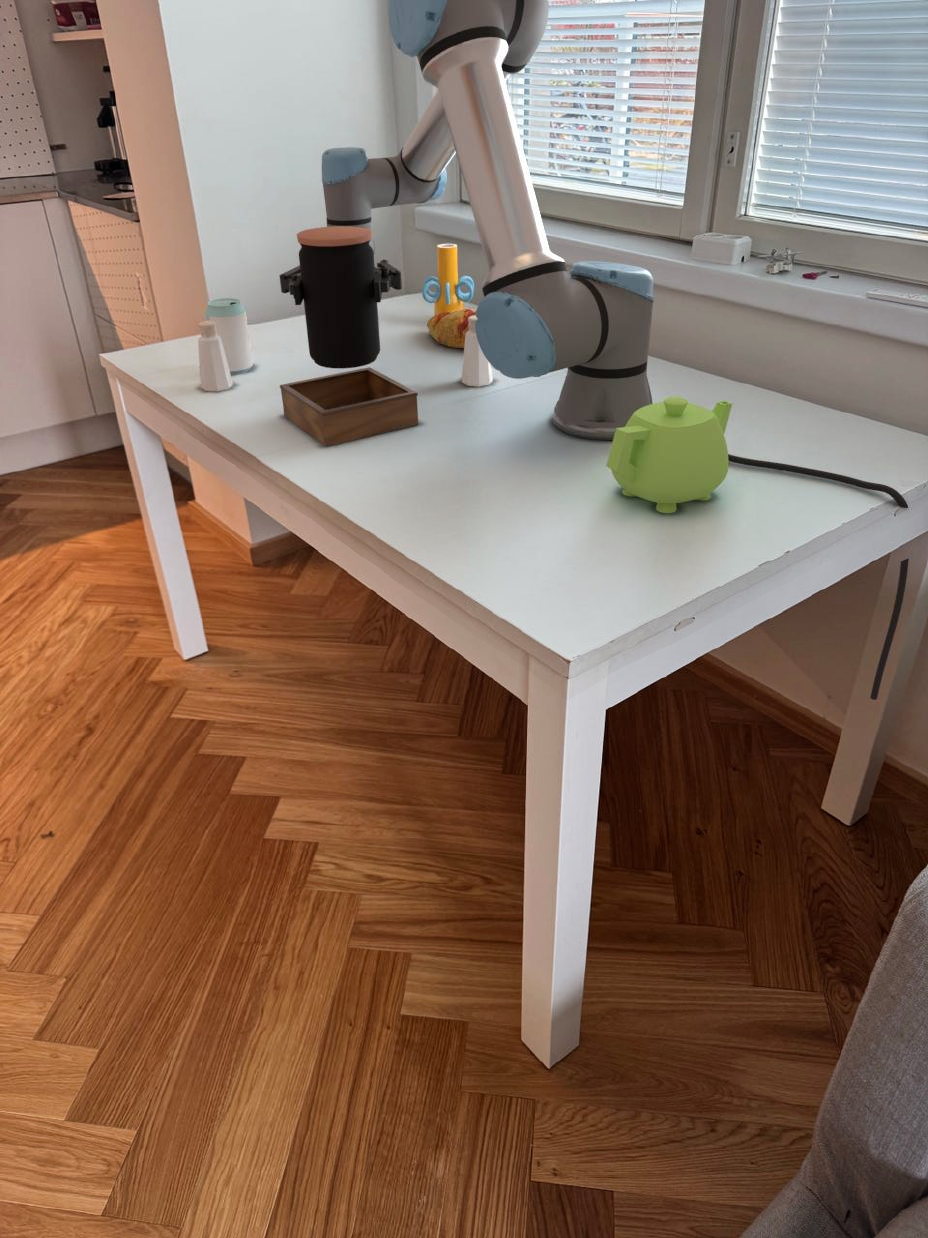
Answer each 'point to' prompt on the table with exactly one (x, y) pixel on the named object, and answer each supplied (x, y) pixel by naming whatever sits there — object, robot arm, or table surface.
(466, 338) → the pepper shaker
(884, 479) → the table surface
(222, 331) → the can
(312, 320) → the coffee jar
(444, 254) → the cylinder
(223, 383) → the salt shaker
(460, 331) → the croissant
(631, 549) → the table surface
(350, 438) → the wooden tray
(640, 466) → the teapot
